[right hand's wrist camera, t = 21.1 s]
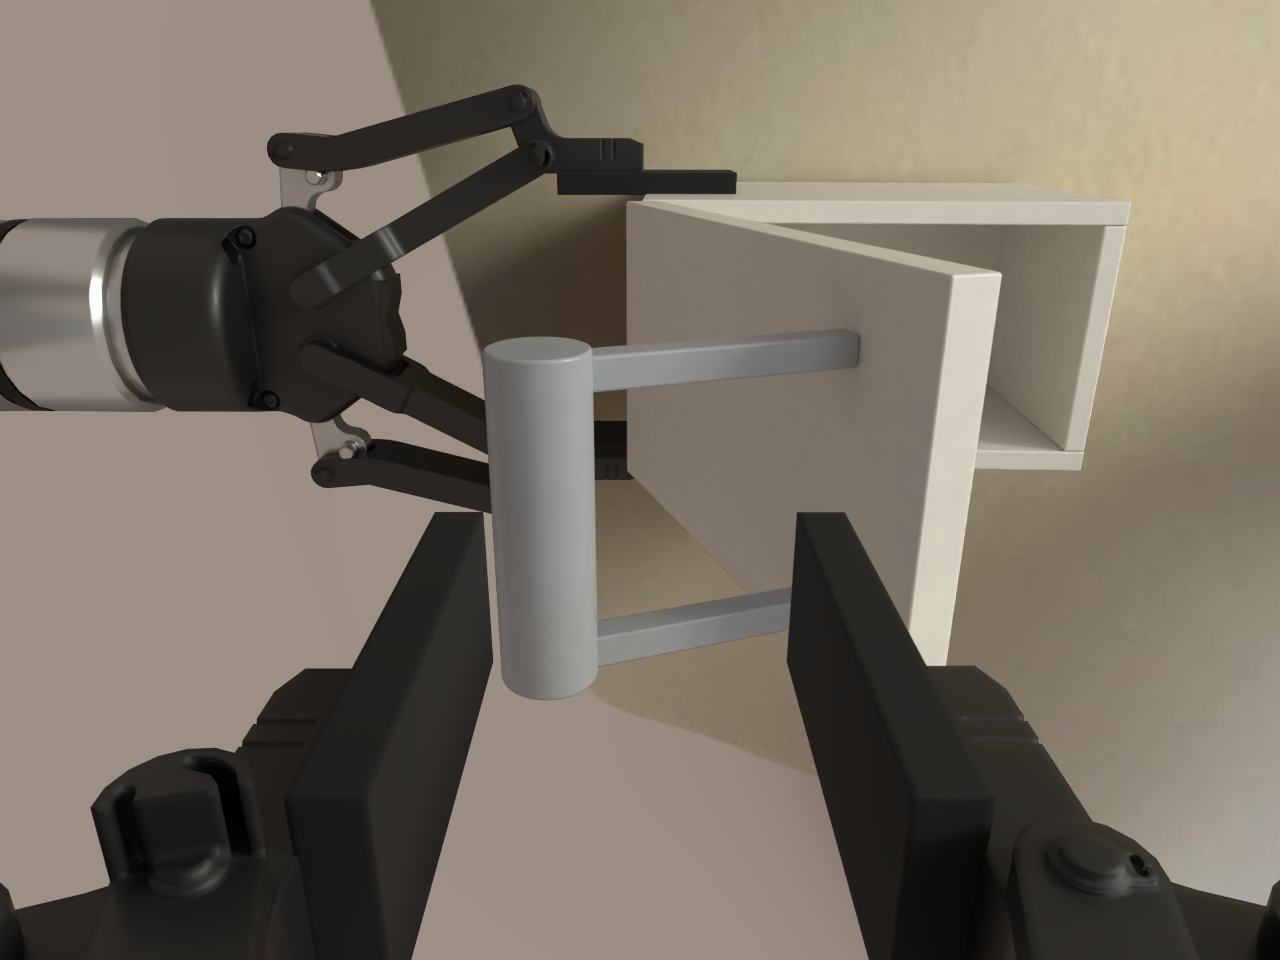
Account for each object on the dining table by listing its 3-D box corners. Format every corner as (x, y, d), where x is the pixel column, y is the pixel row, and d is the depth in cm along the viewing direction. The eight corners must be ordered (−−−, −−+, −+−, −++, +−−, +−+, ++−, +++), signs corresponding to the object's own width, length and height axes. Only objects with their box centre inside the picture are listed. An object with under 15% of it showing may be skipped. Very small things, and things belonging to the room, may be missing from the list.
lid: (1003, 272, 16) (514, 301, 13) (937, 733, 19) (539, 832, 16) (656, 200, 30) (393, 207, 28) (653, 467, 34) (420, 496, 31)
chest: (1020, 183, 40) (1132, 202, 30) (990, 392, 44) (1081, 471, 34) (652, 181, 41) (641, 199, 31) (650, 387, 44) (641, 464, 34)
